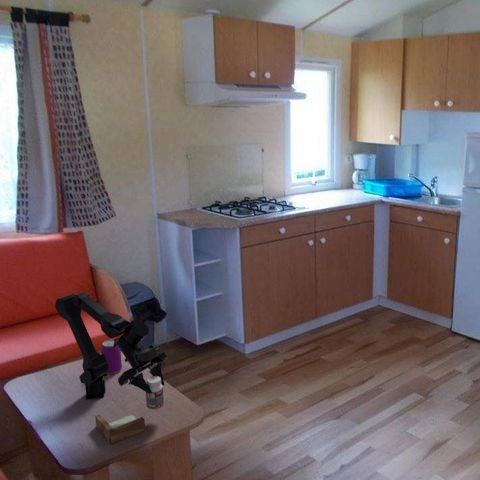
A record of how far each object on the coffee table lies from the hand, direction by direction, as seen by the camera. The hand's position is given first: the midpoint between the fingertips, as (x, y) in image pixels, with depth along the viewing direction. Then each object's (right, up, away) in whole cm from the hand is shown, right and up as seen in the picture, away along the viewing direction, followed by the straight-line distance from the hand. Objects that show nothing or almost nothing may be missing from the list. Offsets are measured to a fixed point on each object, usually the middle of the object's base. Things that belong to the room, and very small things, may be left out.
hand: (157, 389), depth 173 cm
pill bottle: (-1, -6, +2) cm, 7 cm away
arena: (-12, -12, -1) cm, 17 cm away
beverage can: (-24, -3, +38) cm, 45 cm away
